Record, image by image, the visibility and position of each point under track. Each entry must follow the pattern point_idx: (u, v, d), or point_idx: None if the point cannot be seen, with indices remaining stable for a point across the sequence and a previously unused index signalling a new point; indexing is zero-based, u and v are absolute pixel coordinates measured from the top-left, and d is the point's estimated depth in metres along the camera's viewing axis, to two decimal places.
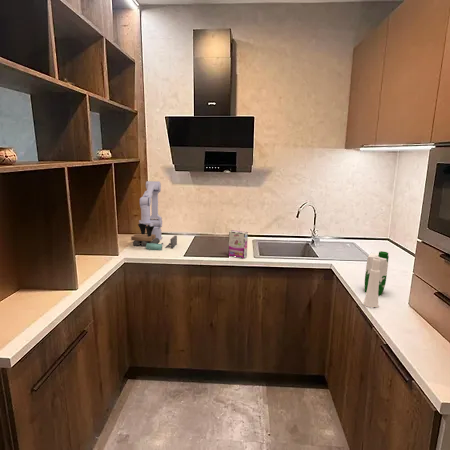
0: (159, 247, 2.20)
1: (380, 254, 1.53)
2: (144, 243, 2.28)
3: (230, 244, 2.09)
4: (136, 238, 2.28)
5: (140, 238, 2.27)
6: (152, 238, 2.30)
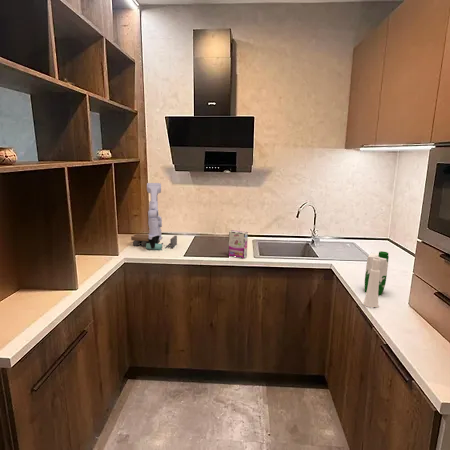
0: (159, 246, 2.19)
1: (380, 254, 1.53)
2: (144, 243, 2.28)
3: (230, 244, 2.09)
4: (136, 238, 2.28)
5: (140, 238, 2.27)
6: None
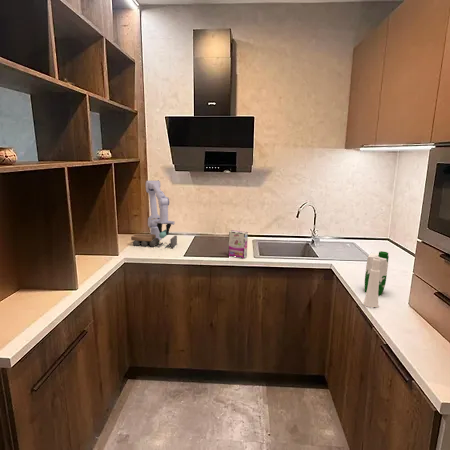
0: None
1: (380, 254, 1.53)
2: (144, 243, 2.28)
3: (230, 244, 2.09)
4: (136, 238, 2.28)
5: (140, 238, 2.27)
6: (152, 238, 2.30)
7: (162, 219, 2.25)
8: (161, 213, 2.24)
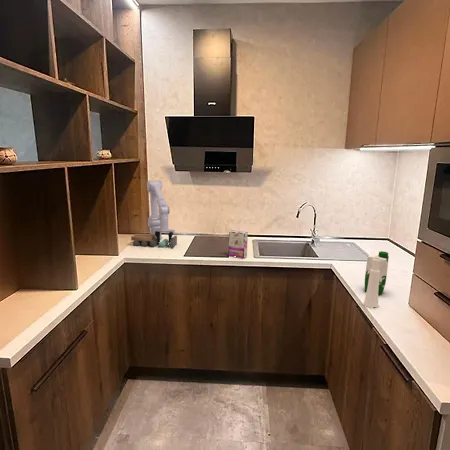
0: (167, 240, 2.35)
1: (380, 254, 1.53)
2: (144, 243, 2.28)
3: (230, 244, 2.09)
4: (136, 238, 2.28)
5: (140, 238, 2.27)
6: (152, 238, 2.30)
7: (162, 228, 2.26)
8: (161, 222, 2.25)
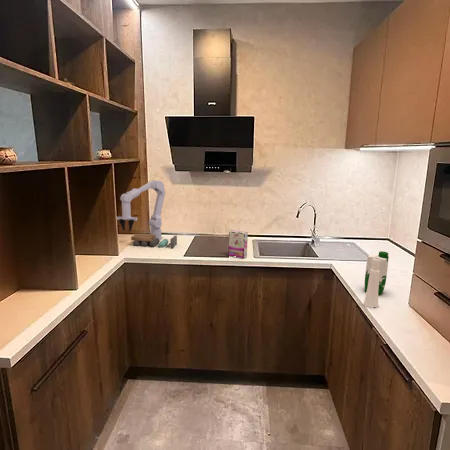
0: None
1: (380, 254, 1.53)
2: (144, 243, 2.28)
3: (230, 244, 2.09)
4: (136, 238, 2.28)
5: (140, 238, 2.27)
6: (152, 238, 2.30)
7: (124, 215, 2.28)
8: None
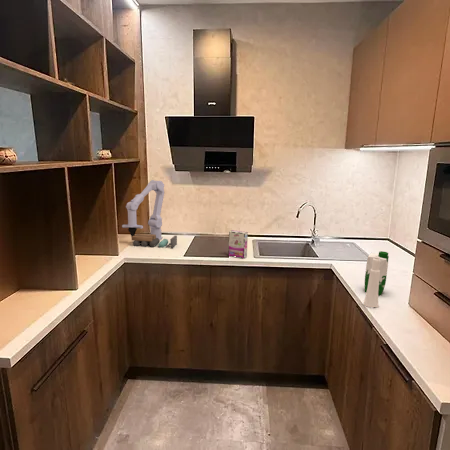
0: None
1: (380, 254, 1.53)
2: (144, 243, 2.28)
3: (230, 244, 2.09)
4: (136, 238, 2.28)
5: (140, 238, 2.27)
6: (152, 238, 2.30)
7: (130, 223, 2.28)
8: None
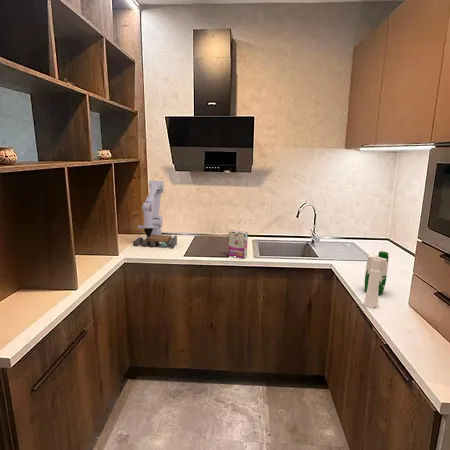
0: (169, 241, 2.35)
1: (380, 254, 1.53)
2: (144, 243, 2.28)
3: (230, 244, 2.09)
4: (153, 239, 2.26)
5: (157, 239, 2.26)
6: (169, 239, 2.28)
7: (146, 224, 2.27)
8: (144, 218, 2.27)
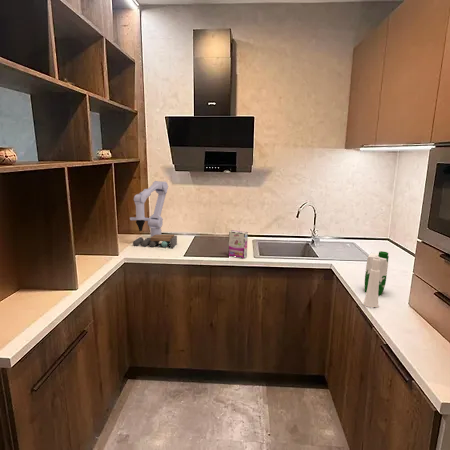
0: None
1: (380, 254, 1.53)
2: (144, 243, 2.28)
3: (230, 244, 2.09)
4: (155, 239, 2.26)
5: (159, 238, 2.26)
6: None
7: (138, 216, 2.27)
8: (136, 209, 2.28)
